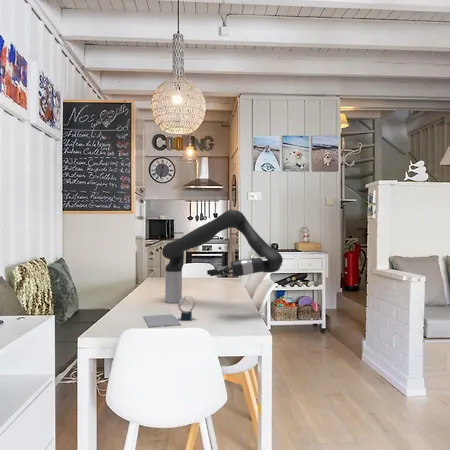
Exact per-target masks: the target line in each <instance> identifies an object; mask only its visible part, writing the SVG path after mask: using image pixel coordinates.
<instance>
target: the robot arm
mask: <svg viewBox="0 0 450 450" xmlns="http://www.w3.org/2000/svg"><path fill="white" fill-rule="evenodd" d="M231 228H232V229H236V230H237V231H238V232H240V233H241V234H242V236H244V238H245V240H246V241H247V244H248V246H249V247H251V249H252V250H253V251H254V253H256V255H257V256H258V257H253V258H245V259H244V258H243V259H238V260H233V261H231V262H230V266H229V265H225V266H224V265H223V266H220V267H215V268H213V269H207V271H206V273H207V276H210V277H215V276H229V275H230V274H231V275H232V277H233V278H236V277H241V276H243V277H244V276H248V275H251V274H257V273H275V272H278V271H279V270H280V269H281V266H282V264H283V260H284V258H283V257H282V255H281V253H280V252H279V251H278V250H276V249H275V248H273V247H271V246H269V244H268V243H267V242H266V240H264V239H263V238H262V237H261V236H260V235H259V234H258V232H257V231H256V230H255V229H254V228H253V226H252V225H251V224H250V222H249V221H248V219H247V218H246V216H245V215H244V213H243V212H241V211H239V210H236V209H228V210H226V211H224V212H223V213H222V214H220V215H218V217H216V218H214V219H213V220H210V221H208V222H207V223H204V224H203V225H201V226H199V227H197V228H195V229H194V230H191V231H190V232H188V233H186V234H185V235H183V236H182V237H180V238H178V239H176V240H172V241H170V242H168V243H165V245H163V247H162V251H161V253H162V256H163V257H164V258H165V259H168V260H169V262H168V263H167V264H166V265H165V273H164V274H165V279H164V280H165V282H164V283H165V289H164V290H165V292H164V296H165V297H164V299H165V300H164V302H165V303H167V304H168V303H169V304H178V303H179V301H180V300H181V298H182V296H183V295H182V294H183V266H184V261H185V259H184V258H185V251H188V250H190V249H195V248H198V247H200V246H203V245H204V244H207V243H208V242H210V241H211V240H213V239H214V238H215V236H217V234H218V233H220V232H222V231H225V230H226V229H231ZM262 258H265V259H266V260H264V259H262Z"/></svg>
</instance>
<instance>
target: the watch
mask: <svg viewBox="0 0 450 450" xmlns="http://www.w3.org/2000/svg"><path fill="white" fill-rule="evenodd" d="M186 297H187V298H190V299H192V302H193V303H192V307H191V308H190V309H189V310H188V311H187V310H182V308H181V306H182V304H183V303H184V301H185V298H186ZM195 305H196V301H195V298H194V297H193V296H192V295H187V294H186V295H182V298H181V300H180V301H179V303H177V307H178V310H179V311H180V312H181V313H180V321H182V322H185V321H187V322H188V321H189V322H191V321H192V318H193V315H192V314H193V313H192V311H193V310H194V308H195Z"/></svg>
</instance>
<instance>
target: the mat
mask: <svg viewBox="0 0 450 450" xmlns="http://www.w3.org/2000/svg"><path fill="white" fill-rule="evenodd" d="M142 316H143V319H144V321H145V323H146V325H147V327H148V328H149V329H150V328H159V327H158V326H164V327H173V326H172V325H177V326H182V324H181V323H180V321H179V320H178V318H177V317H176V316H175V315H174V314H173V313H172V314H171V313H170V314H169V313H168V314H156V315H154V314H153V315H142Z"/></svg>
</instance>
